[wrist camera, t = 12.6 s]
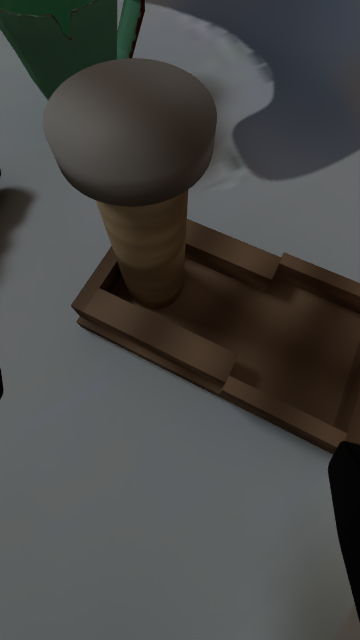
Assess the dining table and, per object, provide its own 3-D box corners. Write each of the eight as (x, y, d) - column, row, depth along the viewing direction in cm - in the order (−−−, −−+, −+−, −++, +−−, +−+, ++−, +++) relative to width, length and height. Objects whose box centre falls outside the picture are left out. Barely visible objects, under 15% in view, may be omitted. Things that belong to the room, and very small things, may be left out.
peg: (162, 336, 22) (142, 212, 9) (98, 289, 23) (6, 124, 11) (210, 275, 23) (249, 103, 11) (149, 235, 25) (121, 38, 12)
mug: (91, 162, 29) (47, 33, 19) (19, 120, 31) (-51, -15, 21) (180, 81, 33) (180, -59, 24) (112, 48, 35) (87, -92, 26)
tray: (375, 316, 23) (402, 300, 20) (334, 454, 20) (359, 458, 17) (149, 221, 26) (145, 196, 24) (80, 326, 23) (66, 311, 20)
